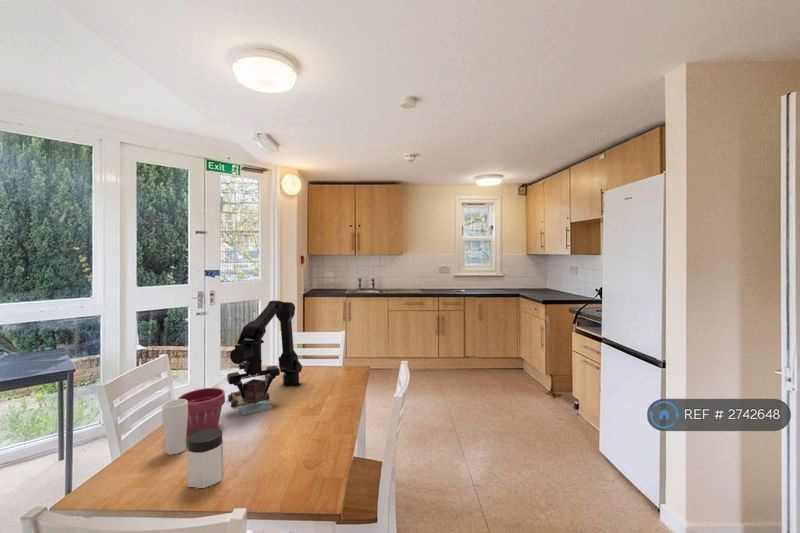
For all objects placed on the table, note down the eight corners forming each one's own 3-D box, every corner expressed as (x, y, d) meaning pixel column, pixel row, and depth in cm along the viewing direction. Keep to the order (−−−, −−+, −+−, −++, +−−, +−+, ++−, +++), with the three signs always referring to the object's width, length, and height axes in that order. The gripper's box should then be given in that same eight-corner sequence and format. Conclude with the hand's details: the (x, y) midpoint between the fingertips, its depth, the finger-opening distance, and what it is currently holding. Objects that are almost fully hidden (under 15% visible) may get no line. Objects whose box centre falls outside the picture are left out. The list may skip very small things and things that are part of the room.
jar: (216, 466, 103) (215, 424, 103) (230, 477, 98) (229, 433, 98) (181, 481, 96) (181, 436, 96) (194, 494, 91) (193, 446, 91)
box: (265, 398, 145) (265, 380, 145) (255, 404, 139) (255, 385, 139) (253, 396, 147) (253, 378, 147) (242, 402, 141) (242, 383, 141)
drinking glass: (193, 446, 115) (192, 398, 115) (178, 457, 108) (177, 407, 108) (173, 445, 116) (172, 398, 116) (157, 456, 109) (156, 406, 109)
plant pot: (176, 446, 115) (175, 405, 115) (179, 428, 128) (178, 391, 128) (226, 435, 122) (225, 397, 122) (224, 419, 134) (224, 385, 134)
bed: (263, 393, 161) (262, 386, 161) (270, 402, 151) (270, 394, 151) (227, 400, 153) (227, 393, 153) (233, 410, 143) (232, 402, 143)
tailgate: (266, 402, 150) (266, 400, 150) (271, 408, 142) (271, 406, 142) (237, 408, 144) (237, 406, 144) (241, 415, 136) (241, 412, 136)
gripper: (272, 349, 155) (273, 385, 155) (224, 356, 145) (225, 395, 145) (279, 354, 146) (280, 393, 146) (229, 362, 135) (229, 404, 136)
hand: (254, 396), depth 143 cm, fingers closed on box, 8 cm apart
